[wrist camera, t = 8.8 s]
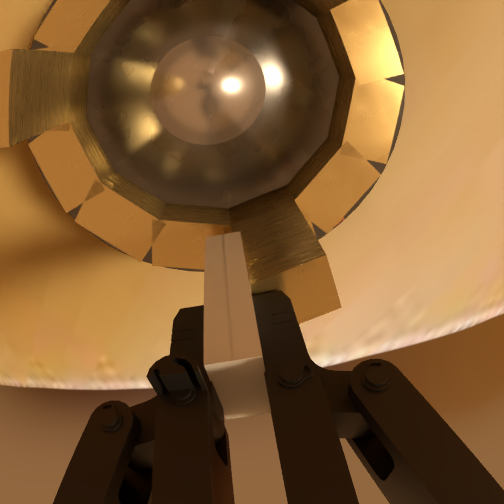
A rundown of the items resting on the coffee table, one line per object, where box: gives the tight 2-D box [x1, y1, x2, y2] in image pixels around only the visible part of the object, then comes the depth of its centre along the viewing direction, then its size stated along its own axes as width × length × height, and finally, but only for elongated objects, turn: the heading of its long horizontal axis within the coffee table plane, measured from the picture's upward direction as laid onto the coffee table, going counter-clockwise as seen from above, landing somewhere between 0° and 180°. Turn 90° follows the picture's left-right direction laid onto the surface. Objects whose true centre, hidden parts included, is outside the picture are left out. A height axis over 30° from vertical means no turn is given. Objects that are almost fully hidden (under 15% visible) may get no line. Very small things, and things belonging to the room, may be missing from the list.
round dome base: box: [0, 0, 404, 324], centre depth 10 cm, size 16×16×7 cm
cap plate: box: [28, 0, 405, 272], centre depth 13 cm, size 20×20×6 cm
